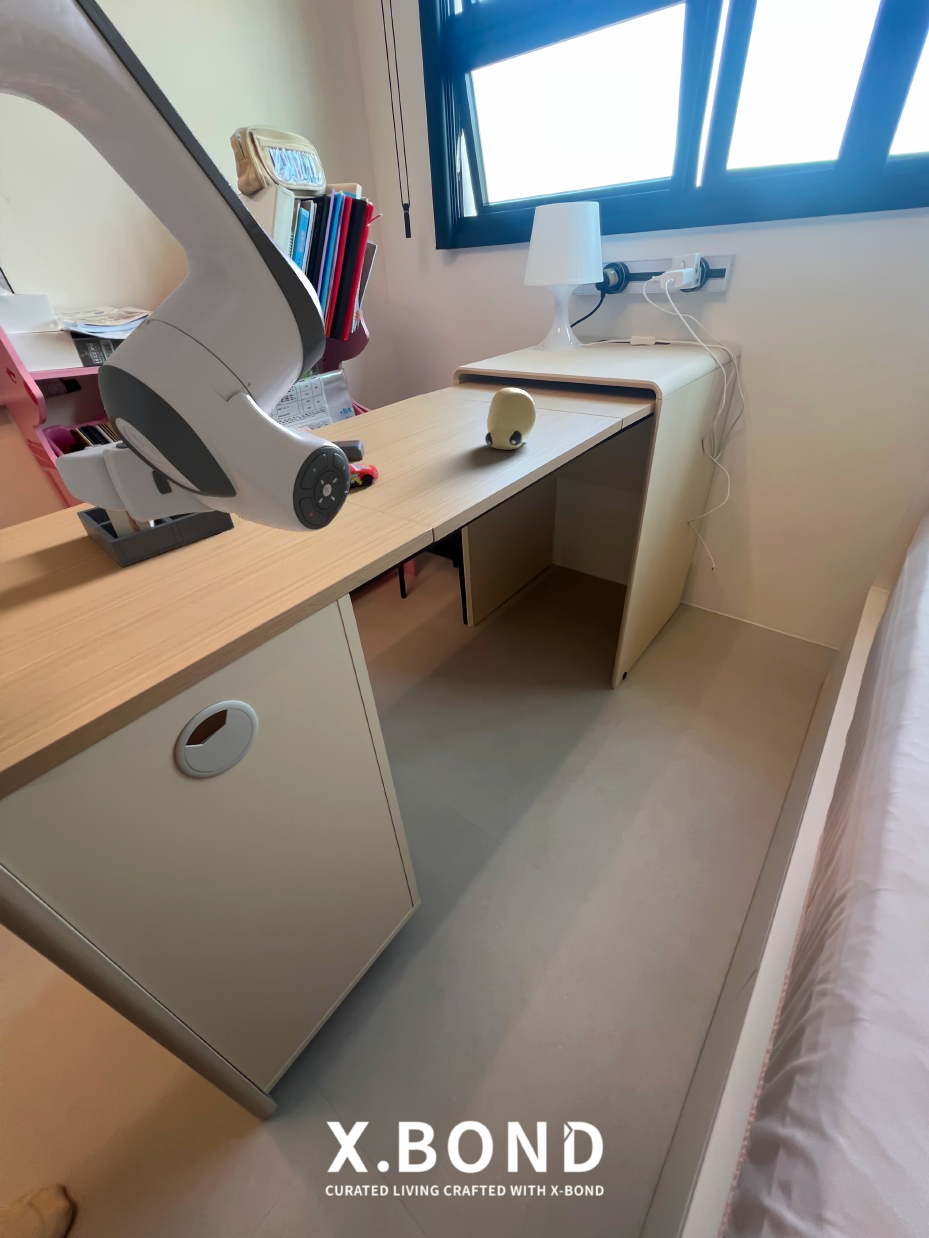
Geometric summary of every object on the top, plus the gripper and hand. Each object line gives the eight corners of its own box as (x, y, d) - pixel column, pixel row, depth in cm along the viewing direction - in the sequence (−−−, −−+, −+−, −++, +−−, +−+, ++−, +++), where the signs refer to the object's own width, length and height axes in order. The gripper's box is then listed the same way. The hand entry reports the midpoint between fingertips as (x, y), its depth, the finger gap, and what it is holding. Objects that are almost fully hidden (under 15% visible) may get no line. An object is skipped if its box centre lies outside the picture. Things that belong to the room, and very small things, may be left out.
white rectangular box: (160, 545, 69) (129, 473, 63) (124, 553, 67) (88, 480, 62) (160, 531, 73) (131, 461, 67) (126, 538, 71) (93, 468, 65)
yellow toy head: (488, 459, 106) (470, 435, 96) (500, 406, 107) (484, 376, 97) (532, 462, 102) (519, 437, 92) (545, 406, 103) (533, 376, 93)
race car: (376, 474, 91) (373, 452, 89) (382, 484, 87) (379, 461, 84) (301, 486, 88) (295, 463, 85) (304, 496, 83) (298, 473, 81)
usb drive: (362, 459, 98) (360, 445, 97) (300, 464, 98) (296, 449, 96) (364, 451, 102) (362, 437, 101) (304, 455, 102) (301, 441, 100)
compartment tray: (122, 567, 66) (110, 542, 64) (88, 535, 75) (76, 512, 73) (234, 527, 75) (226, 504, 73) (191, 502, 84) (183, 481, 81)
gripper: (290, 403, 54) (214, 392, 60) (88, 457, 40) (18, 435, 47) (303, 462, 57) (230, 446, 64) (122, 530, 44) (52, 500, 50)
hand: (139, 442), depth 55 cm, fingers open, 8 cm apart
